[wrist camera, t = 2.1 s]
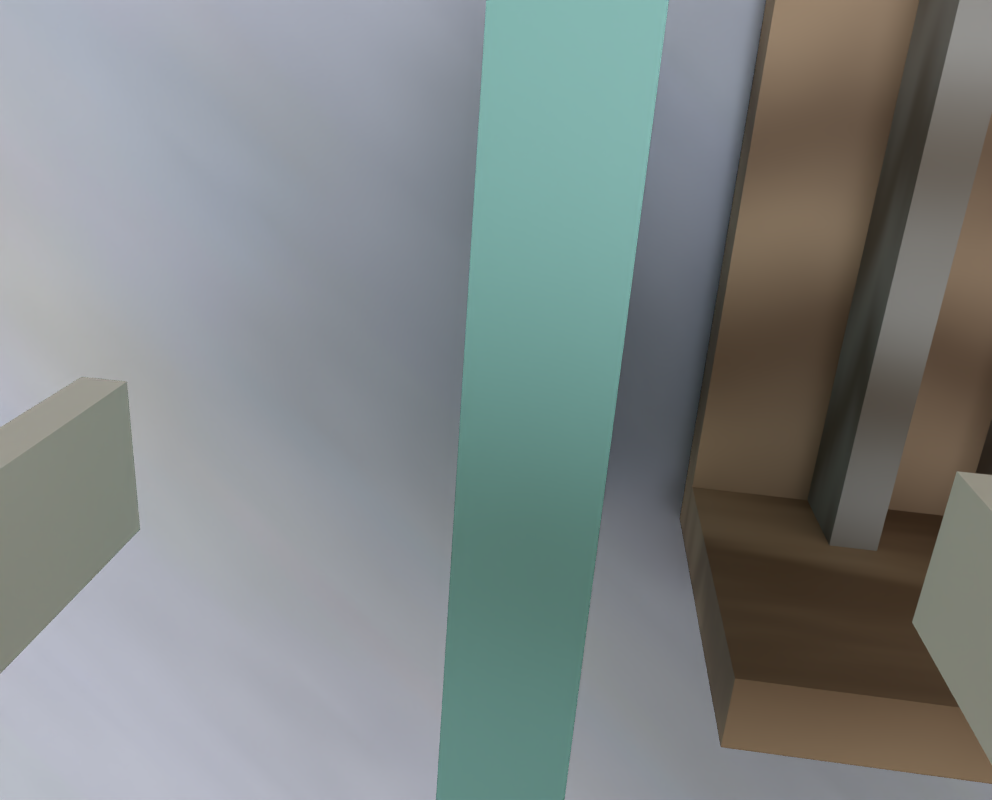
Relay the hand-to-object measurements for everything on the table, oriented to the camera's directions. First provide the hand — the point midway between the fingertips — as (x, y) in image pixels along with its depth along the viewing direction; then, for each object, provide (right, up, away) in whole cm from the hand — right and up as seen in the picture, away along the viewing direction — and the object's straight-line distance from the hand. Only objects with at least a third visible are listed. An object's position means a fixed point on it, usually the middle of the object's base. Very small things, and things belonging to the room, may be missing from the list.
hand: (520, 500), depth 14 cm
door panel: (+2, +5, +15) cm, 16 cm away
